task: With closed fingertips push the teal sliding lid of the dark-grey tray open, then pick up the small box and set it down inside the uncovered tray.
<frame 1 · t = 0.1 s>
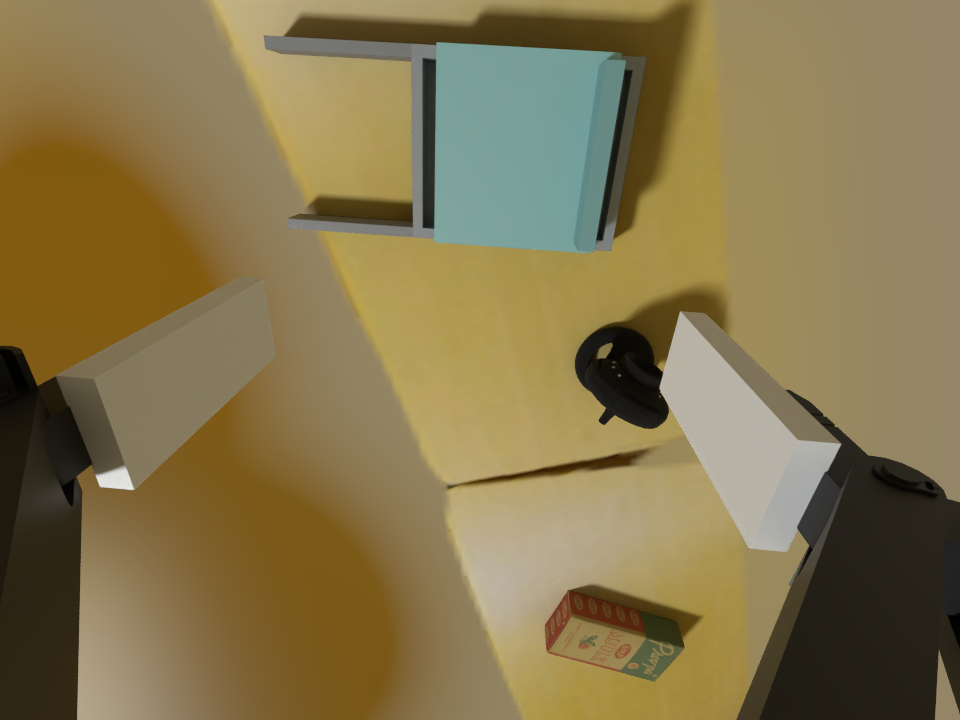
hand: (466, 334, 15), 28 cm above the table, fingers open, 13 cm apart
lid: (519, 157, 33), point 5 cm above the table, slide at 0.0 cm
tray: (518, 154, 38), on the table
carton: (609, 620, 64), on the table
webcam: (612, 359, 46), on the table
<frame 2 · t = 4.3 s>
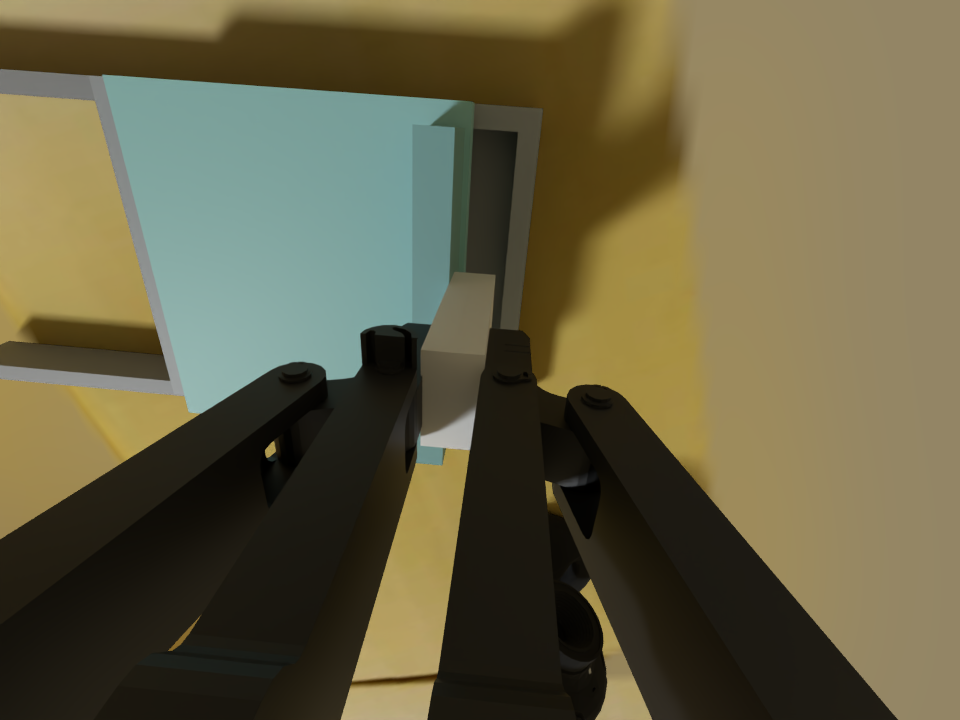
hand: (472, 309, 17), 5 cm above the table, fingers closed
lid: (295, 291, 18), point 5 cm above the table, slide at 0.4 cm, touching gripper
tray: (346, 261, 22), on the table
webcam: (533, 549, 30), on the table
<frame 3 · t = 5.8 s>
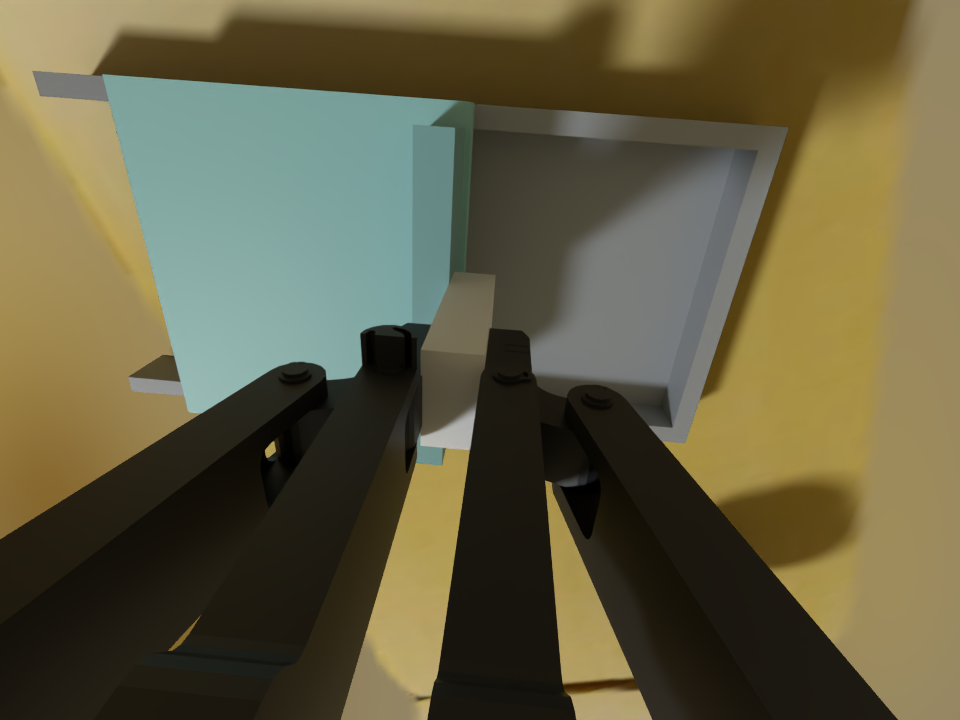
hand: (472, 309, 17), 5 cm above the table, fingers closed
lid: (295, 291, 18), point 5 cm above the table, slide at 9.0 cm, touching gripper
tray: (527, 276, 22), on the table
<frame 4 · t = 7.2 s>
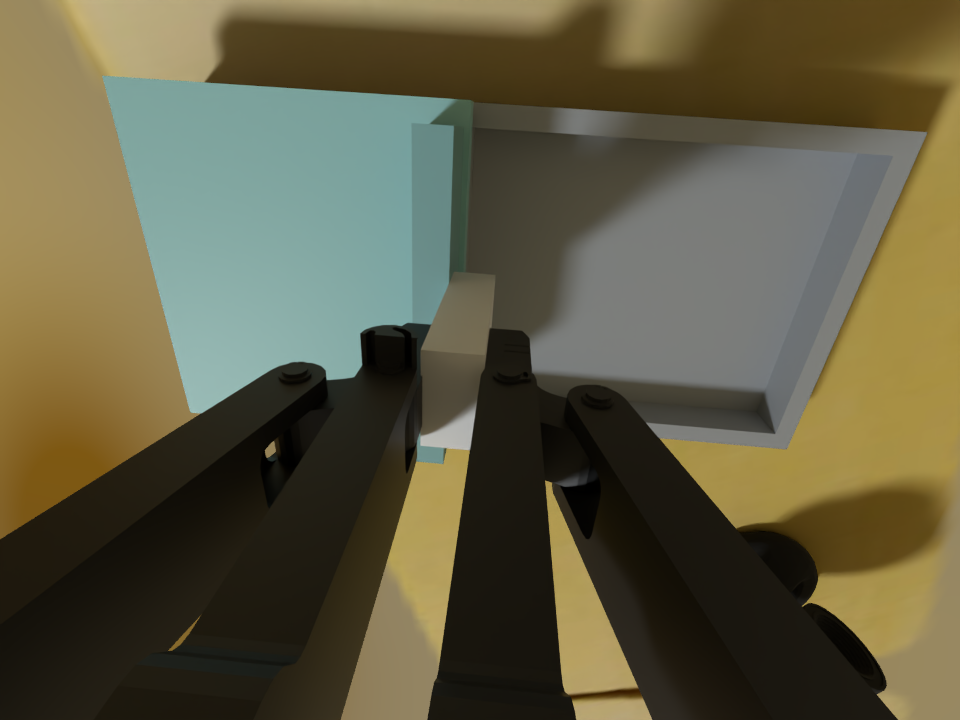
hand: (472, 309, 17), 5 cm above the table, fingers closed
lid: (295, 291, 18), point 5 cm above the table, slide at 13.7 cm, touching gripper
tray: (629, 282, 21), on the table
webcam: (744, 568, 29), on the table
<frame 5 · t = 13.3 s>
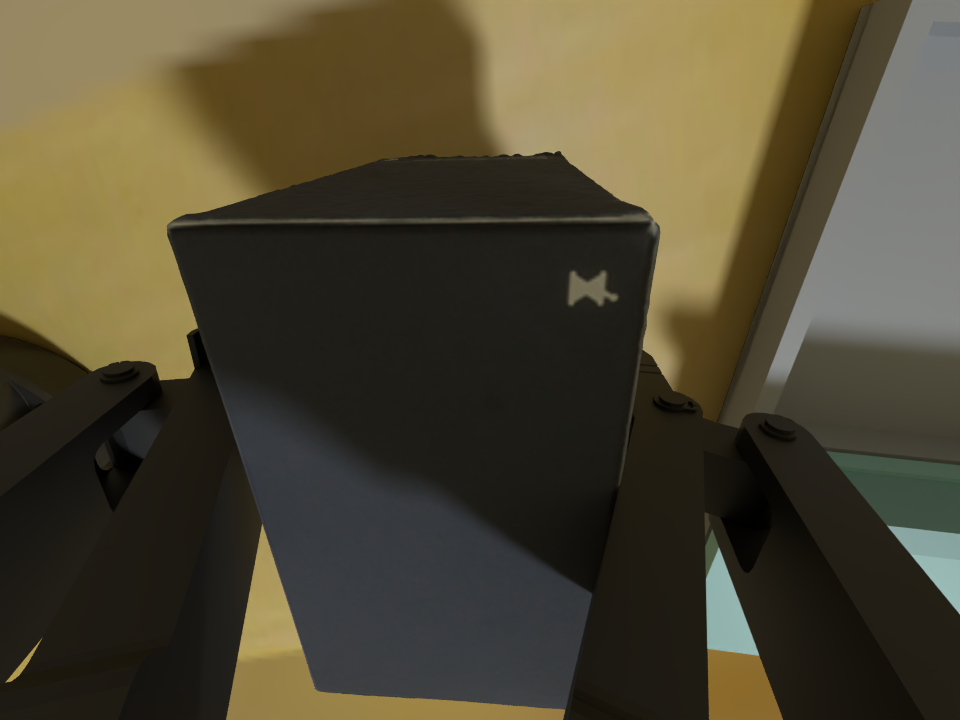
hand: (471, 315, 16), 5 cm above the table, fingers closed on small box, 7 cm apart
lid: (876, 601, 21), point 5 cm above the table, slide at 13.8 cm
small box: (470, 308, 17), point 4 cm above the table, touching gripper
tray: (949, 268, 19), on the table
when the fingers open (2 cm above the table, at t = 18.2 s): small box drops 1 cm, resting on tray.
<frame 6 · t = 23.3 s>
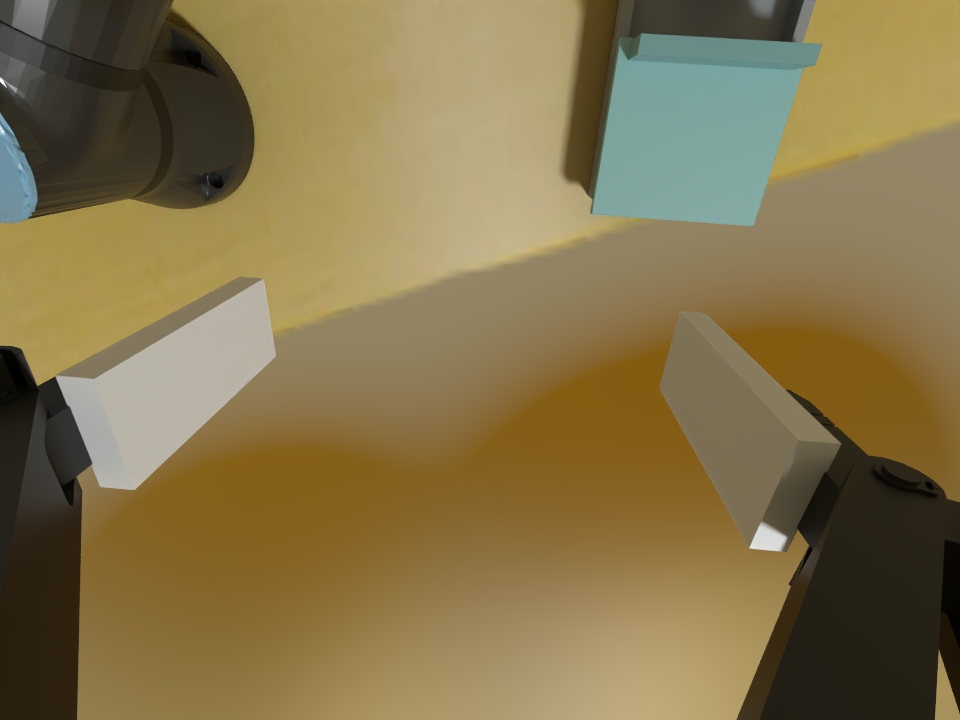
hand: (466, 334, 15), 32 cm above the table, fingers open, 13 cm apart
lid: (696, 138, 36), point 5 cm above the table, slide at 13.8 cm
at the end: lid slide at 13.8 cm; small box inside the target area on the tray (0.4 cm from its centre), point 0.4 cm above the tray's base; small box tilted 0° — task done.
